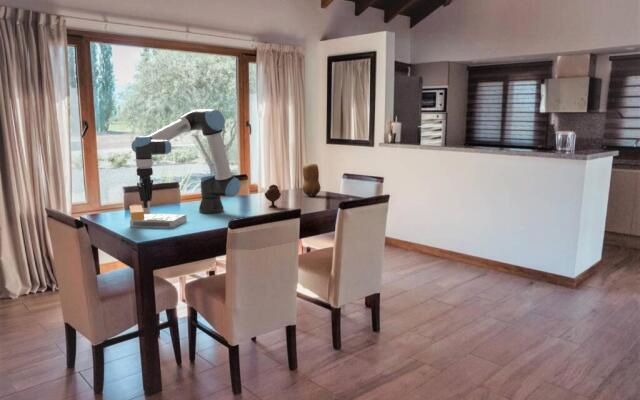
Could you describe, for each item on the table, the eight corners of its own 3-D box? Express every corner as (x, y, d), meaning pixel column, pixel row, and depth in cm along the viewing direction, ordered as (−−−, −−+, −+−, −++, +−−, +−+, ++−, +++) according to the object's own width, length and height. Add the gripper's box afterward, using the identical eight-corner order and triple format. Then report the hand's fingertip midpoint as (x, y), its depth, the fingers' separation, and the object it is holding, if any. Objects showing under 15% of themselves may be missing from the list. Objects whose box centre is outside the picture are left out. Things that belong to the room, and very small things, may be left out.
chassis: (146, 220, 277) (145, 208, 276) (186, 221, 274) (186, 209, 272) (129, 227, 259) (129, 214, 258) (172, 228, 256) (172, 215, 254)
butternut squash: (306, 194, 377) (306, 162, 373) (322, 195, 373) (322, 163, 369) (300, 197, 364) (299, 163, 360) (316, 198, 360) (316, 164, 356)
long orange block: (141, 211, 264) (141, 204, 263) (144, 219, 242) (143, 211, 241) (129, 212, 262) (129, 204, 261) (131, 220, 239) (131, 212, 239)
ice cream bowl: (262, 206, 323) (262, 184, 320) (278, 205, 326) (278, 183, 324) (266, 209, 313) (266, 186, 310) (283, 208, 317) (283, 185, 314)
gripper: (143, 166, 249) (146, 211, 253) (130, 168, 236) (133, 216, 240) (157, 166, 248) (159, 211, 252) (145, 168, 235) (147, 216, 239)
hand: (147, 213), depth 246 cm, fingers closed
